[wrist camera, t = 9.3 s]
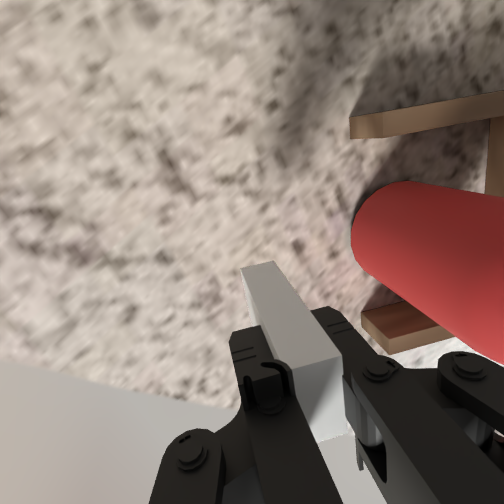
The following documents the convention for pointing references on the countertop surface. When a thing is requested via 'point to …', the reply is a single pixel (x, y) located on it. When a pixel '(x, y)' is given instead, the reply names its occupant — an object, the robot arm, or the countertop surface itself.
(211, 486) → the robot arm
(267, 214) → the countertop surface
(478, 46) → the countertop surface
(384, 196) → the beer can
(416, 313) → the walnut bay
